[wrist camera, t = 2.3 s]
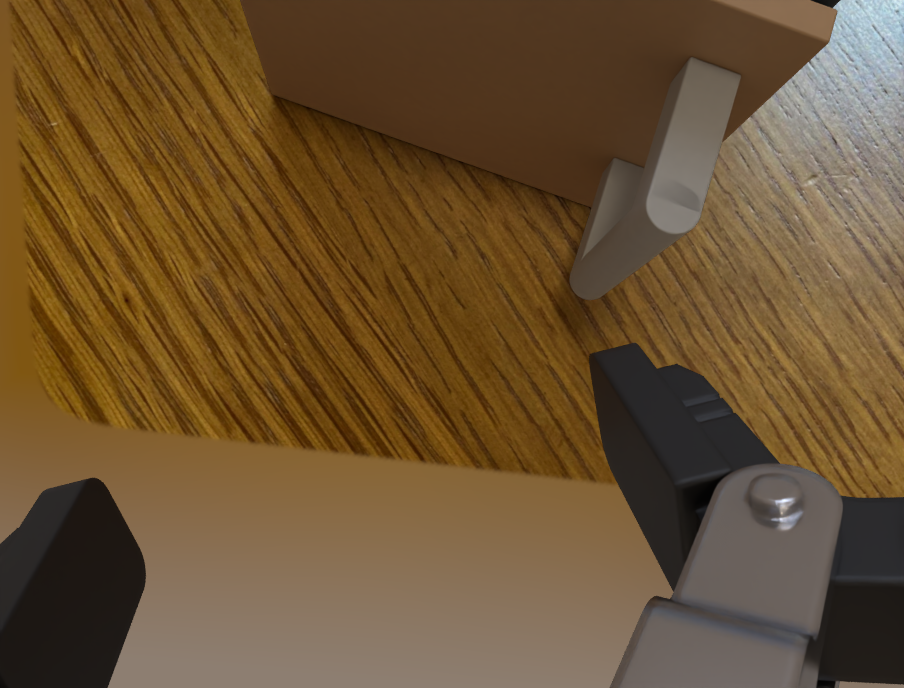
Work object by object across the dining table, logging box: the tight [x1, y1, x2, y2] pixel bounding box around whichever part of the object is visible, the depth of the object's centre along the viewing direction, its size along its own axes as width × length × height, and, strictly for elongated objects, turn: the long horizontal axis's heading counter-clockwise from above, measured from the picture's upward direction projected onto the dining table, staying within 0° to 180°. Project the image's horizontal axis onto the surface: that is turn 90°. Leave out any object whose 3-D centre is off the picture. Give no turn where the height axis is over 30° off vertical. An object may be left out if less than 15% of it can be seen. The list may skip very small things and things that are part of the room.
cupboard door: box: [240, 0, 837, 300], centre depth 26 cm, size 6×18×15 cm, turn 71°
